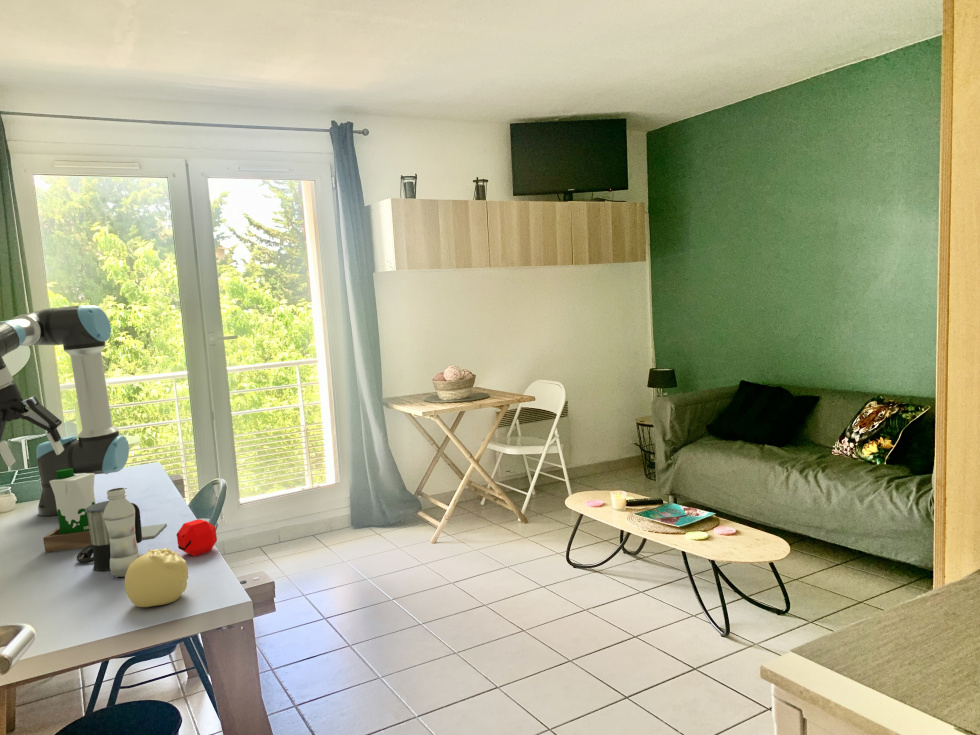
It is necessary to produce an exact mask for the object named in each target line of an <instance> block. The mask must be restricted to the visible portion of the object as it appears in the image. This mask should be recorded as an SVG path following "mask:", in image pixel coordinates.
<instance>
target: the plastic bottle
mask: <svg viewBox="0 0 980 735" xmlns="http://www.w3.org/2000/svg"><path fill="white" fill-rule="evenodd" d="M106 494H107V495H106V496H107V497H106V498H107V501H109V503H108V504H107V506H106V508H105V510H104V514H103V517H104V521H105V524H106V527H107V531H108V536H109V541H110V570H109V571H110V572H111V574H112V575H113V576H114V577H118V578H120V577H121V578H122V577H125V576H126V572H127V570H128V568H129V566H130V565H131V564H132V563H133V562H134V561H135V560H136V559H137V558H139V557H140V556H141V552H140V551H139V546H138V543H137V542H136V535H135V508H134V506H133V505H132V504H131V503H132V502H130V501H129V500H128V499H127V498H126V497H127V493H126V489H125V487H116V488H111V489H108V490H107V491H106Z"/></svg>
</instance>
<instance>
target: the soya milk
mask: <svg viewBox="0 0 980 735" xmlns="http://www.w3.org/2000/svg"><path fill="white" fill-rule="evenodd" d="M56 474H57V478H56V479H53V480H51V481H49V482H50V485H51V487H52V490H53V492H54V495H55V500H56V507H57V513H58V515H57V519H58V527H59V528H60V535H61V534H69V533H78V532H86V531H90V530H89V523H88V516H87V511H85V509H86V508H87V507H89V506H91V505H93V504H97V503H96V498H95V488H94V487H95V476H96V474H95V473H88V474H87V473H80V474H74V472H73V468H65V469H60V470H57V471H56Z"/></svg>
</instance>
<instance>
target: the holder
mask: <svg viewBox="0 0 980 735" xmlns="http://www.w3.org/2000/svg"><path fill="white" fill-rule="evenodd" d="M42 539H43V547H44V552H45V554H47V553H52V552H59V551H60V552H61V551H68V550H76V549H84V548H86V547H87V546H89V545H91V544H92V542H91V536H90V531H86V532H78V533H69V534H61V535H60V528H59V526H58V527H57V528H56V529H54V530H52V531H51V532H50V533H48V534H47V535H45V536H43V537H42Z"/></svg>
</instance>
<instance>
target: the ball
mask: <svg viewBox="0 0 980 735" xmlns="http://www.w3.org/2000/svg"><path fill="white" fill-rule="evenodd" d="M176 540H177V545H178V546H177V547H178V549H179V550H181V551H183V553H186V554H187V553H188V554H187V555H191V556H193V557H197V555H198V556H201V555H204V554H206V553H209V552H211V551H212V549H213V548H214V546H215V544H216V543H217V541H218V537H217V529H216V526H215V525H214V524H211V523H210V522H209V521H207V520H205V519H204V520H203V519H200V518H198V519H197V518H196V519H195V520H192V521H188V522H184V523H183V524H182V525H181V527H180V528H179V530H178V532H177V533H176ZM203 553H204V554H203ZM200 554H201V555H200Z"/></svg>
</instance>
